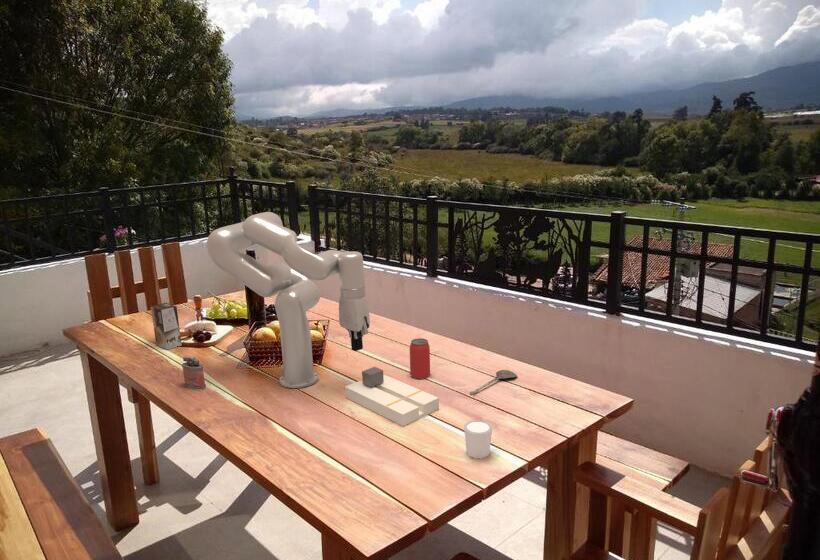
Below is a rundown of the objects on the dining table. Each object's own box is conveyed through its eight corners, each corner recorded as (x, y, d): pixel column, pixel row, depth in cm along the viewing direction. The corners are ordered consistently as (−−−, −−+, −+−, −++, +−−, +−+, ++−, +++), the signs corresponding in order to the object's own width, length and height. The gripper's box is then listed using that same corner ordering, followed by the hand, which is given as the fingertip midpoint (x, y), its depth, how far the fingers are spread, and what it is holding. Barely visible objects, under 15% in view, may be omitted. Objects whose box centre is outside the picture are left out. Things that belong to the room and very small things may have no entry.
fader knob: (362, 391, 172) (361, 371, 171) (375, 386, 176) (374, 366, 174) (371, 395, 169) (370, 375, 168) (383, 389, 173) (383, 370, 171)
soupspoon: (521, 379, 184) (505, 374, 188) (521, 369, 183) (505, 365, 188) (479, 399, 168) (462, 394, 173) (479, 388, 168) (462, 383, 172)
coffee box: (182, 345, 221) (177, 305, 217) (166, 350, 216) (160, 309, 212) (171, 340, 226) (166, 302, 223) (155, 345, 222) (149, 305, 218)
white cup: (461, 446, 143) (461, 420, 141) (488, 444, 143) (488, 419, 141) (466, 461, 136) (466, 434, 134) (494, 459, 136) (495, 432, 135)
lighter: (208, 386, 182) (204, 357, 180) (200, 390, 179) (196, 361, 177) (189, 382, 186) (186, 354, 183) (181, 386, 183) (177, 357, 180)
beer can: (428, 380, 182) (427, 345, 179) (408, 379, 184) (407, 344, 181) (431, 372, 189) (431, 338, 186) (412, 371, 190) (411, 337, 187)
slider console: (345, 397, 172) (344, 386, 171) (380, 383, 181) (380, 372, 180) (403, 426, 153) (402, 414, 152) (438, 409, 163) (438, 397, 162)
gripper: (328, 291, 174) (333, 347, 178) (358, 299, 163) (362, 358, 167) (347, 286, 179) (352, 341, 183) (378, 293, 168) (382, 351, 172)
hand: (357, 349), depth 175 cm, fingers closed
